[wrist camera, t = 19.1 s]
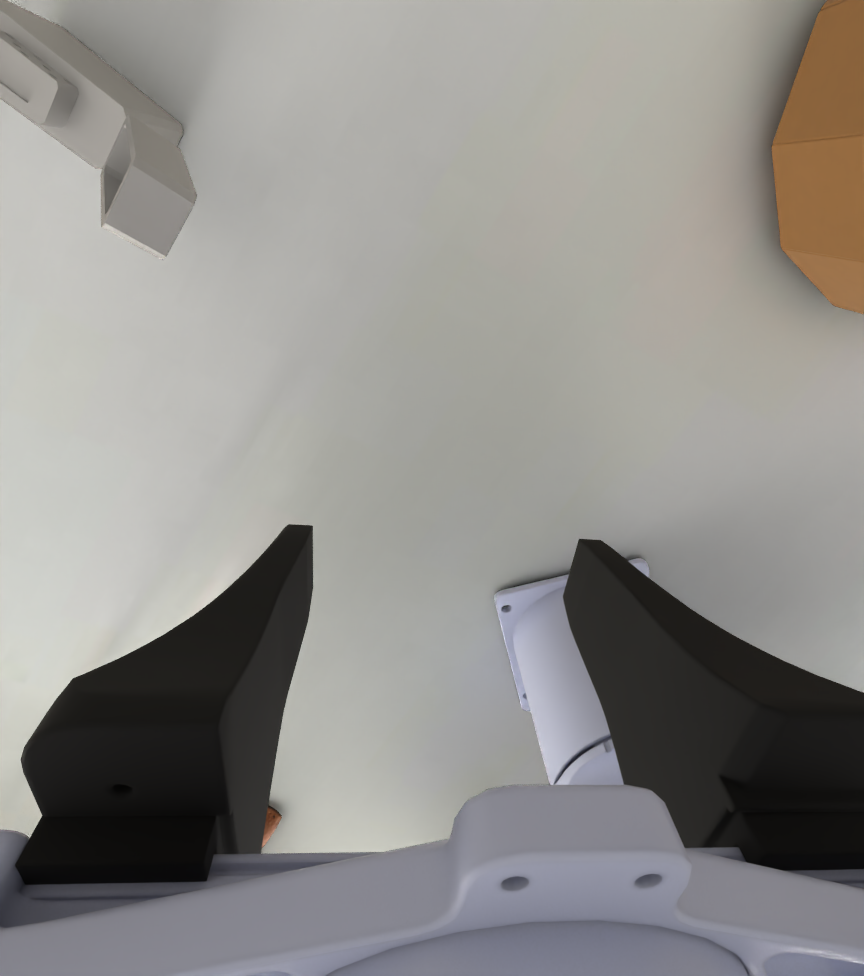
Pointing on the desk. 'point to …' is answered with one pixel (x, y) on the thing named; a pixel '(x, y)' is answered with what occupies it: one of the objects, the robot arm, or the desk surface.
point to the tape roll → (826, 158)
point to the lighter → (99, 127)
